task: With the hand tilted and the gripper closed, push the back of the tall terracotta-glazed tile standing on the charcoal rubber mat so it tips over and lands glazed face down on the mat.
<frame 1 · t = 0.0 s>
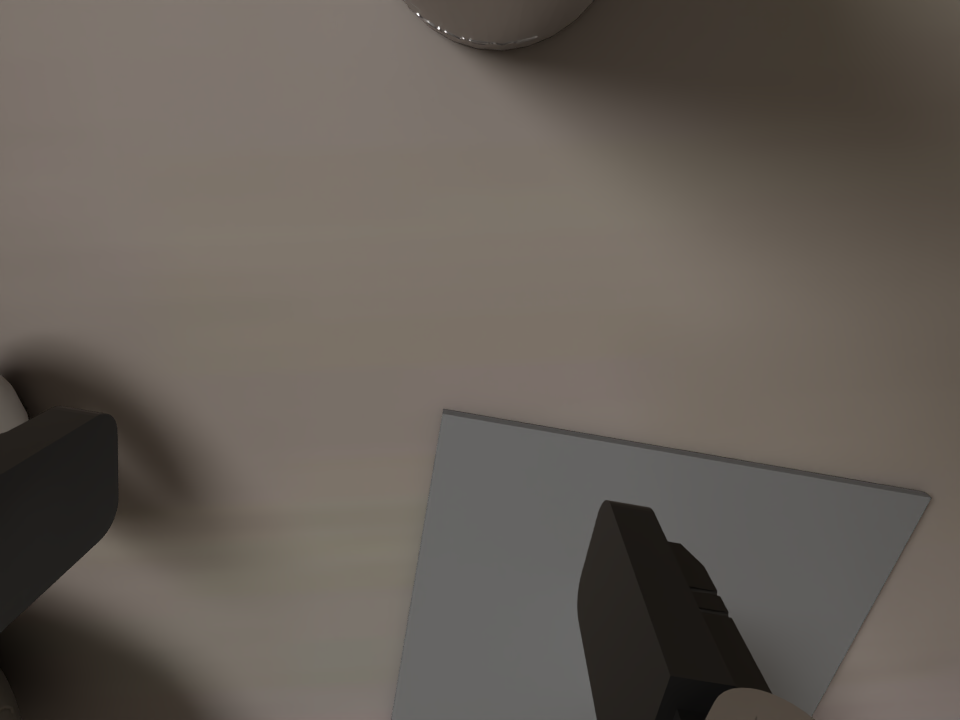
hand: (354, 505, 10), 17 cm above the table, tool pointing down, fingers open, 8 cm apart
mat: (622, 634, 33), on the table
donut: (15, 406, 29), on the table
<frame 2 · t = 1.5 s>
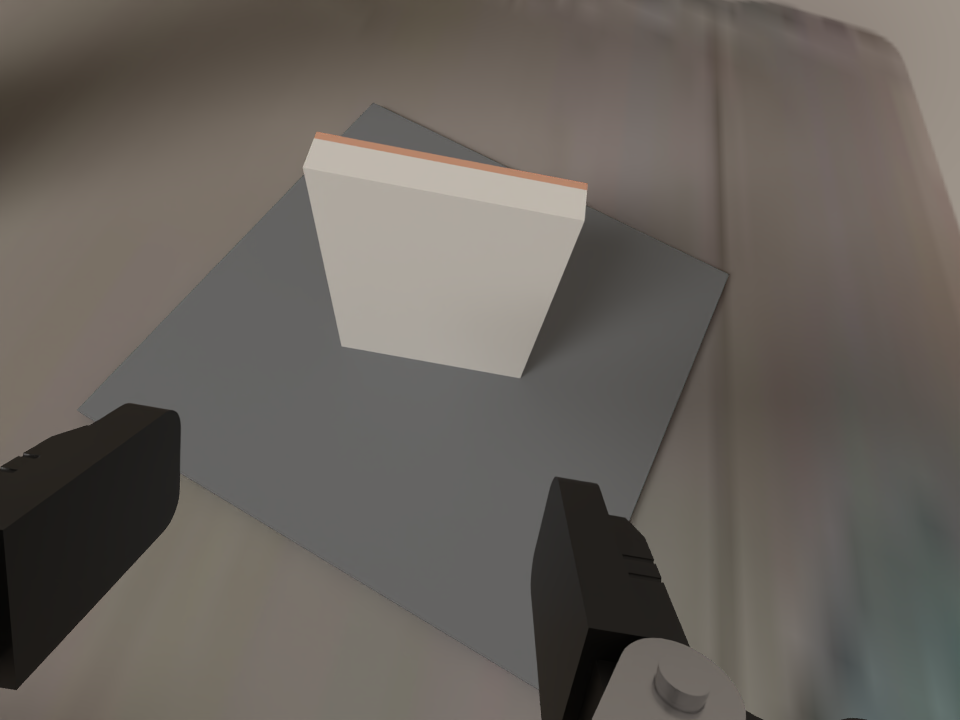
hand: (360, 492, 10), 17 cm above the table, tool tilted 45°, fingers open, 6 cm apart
tile: (434, 348, 29), resting on mat
mat: (443, 338, 30), on the table
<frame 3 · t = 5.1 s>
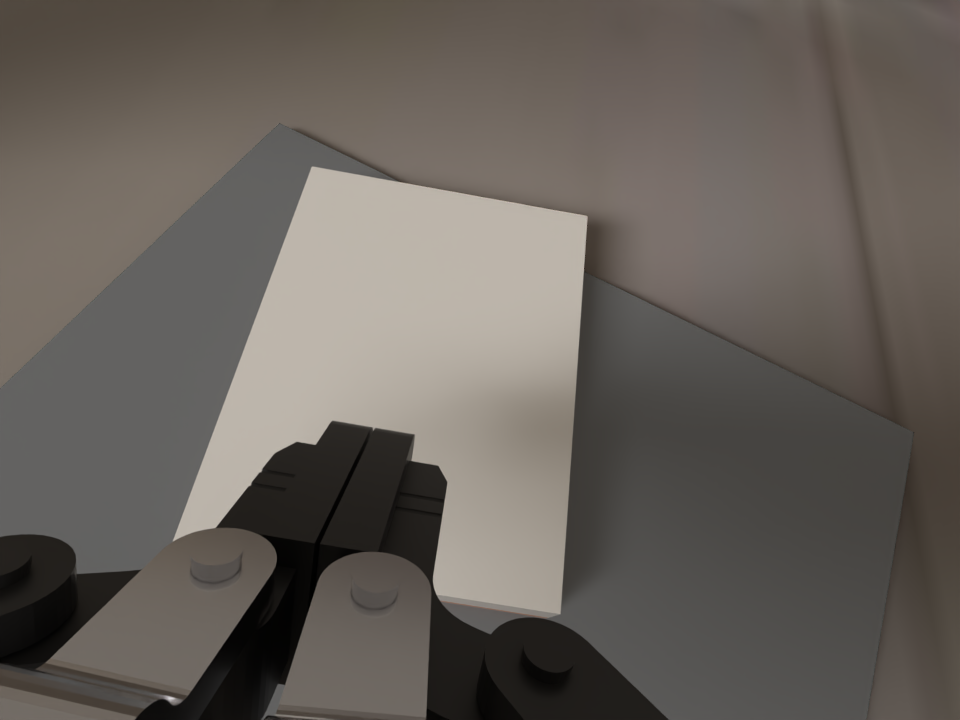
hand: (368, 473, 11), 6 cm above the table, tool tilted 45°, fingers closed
tile: (368, 587, 14), point 1 cm above the table, tilted 90°, touching mat
mat: (384, 599, 15), on the table
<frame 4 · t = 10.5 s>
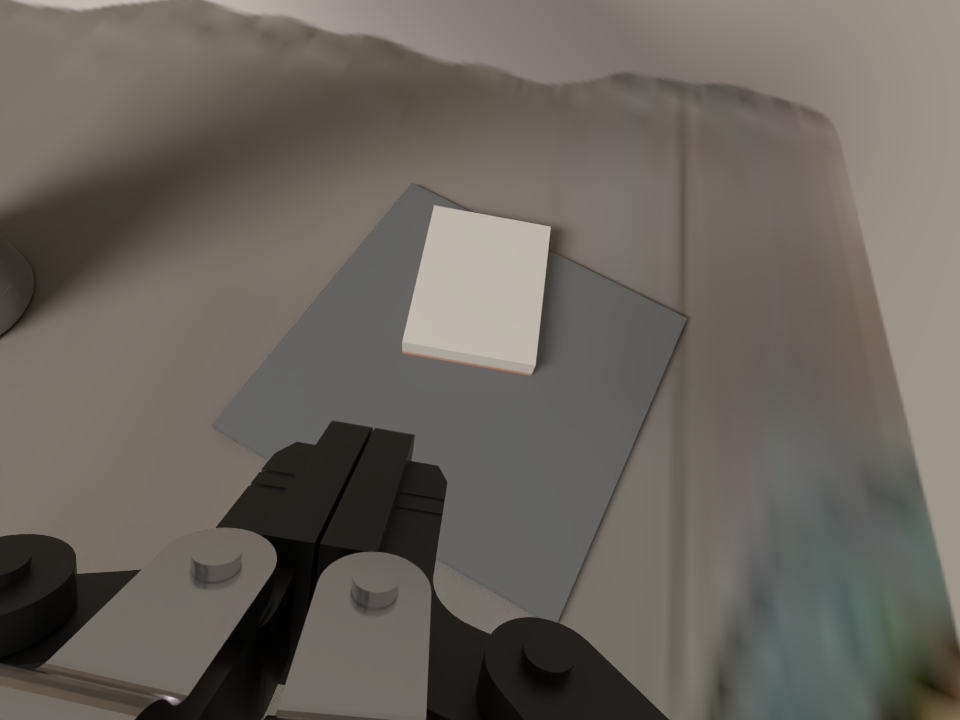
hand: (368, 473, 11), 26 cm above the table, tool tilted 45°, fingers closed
tile: (468, 359, 40), point 1 cm above the table, tilted 90°, touching mat
mat: (470, 370, 41), on the table
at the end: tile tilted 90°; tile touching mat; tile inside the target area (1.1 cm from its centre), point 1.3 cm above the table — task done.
